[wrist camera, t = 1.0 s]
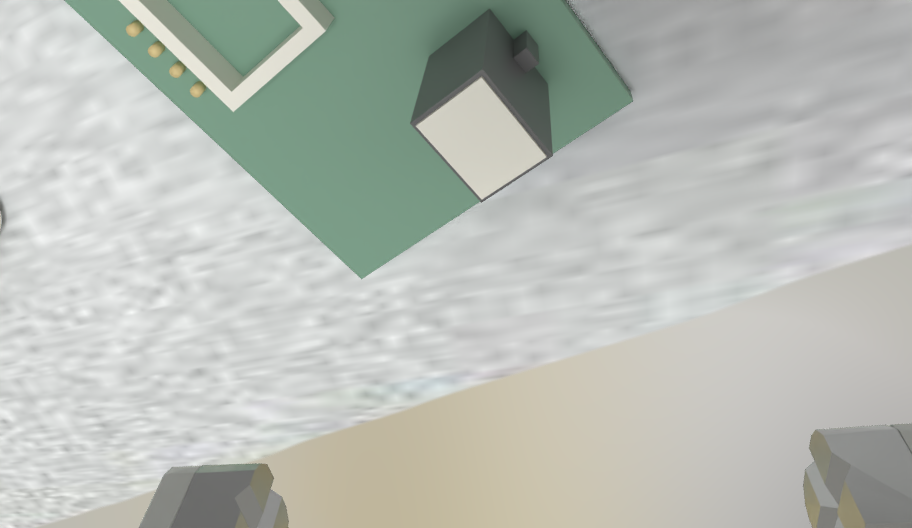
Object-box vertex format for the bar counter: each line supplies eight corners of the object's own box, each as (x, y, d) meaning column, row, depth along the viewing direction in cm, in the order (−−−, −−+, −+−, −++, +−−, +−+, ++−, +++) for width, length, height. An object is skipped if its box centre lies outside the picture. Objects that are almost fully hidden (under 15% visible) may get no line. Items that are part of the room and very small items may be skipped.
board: (278, -402, 29) (255, -414, 27) (630, 91, 40) (638, 117, 38) (14, -65, 38) (-23, -49, 35) (364, 267, 49) (355, 298, 46)
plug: (502, -2, 37) (497, 59, 30) (560, 75, 39) (568, 148, 32) (428, 56, 39) (409, 125, 32) (487, 126, 41) (481, 205, 34)
